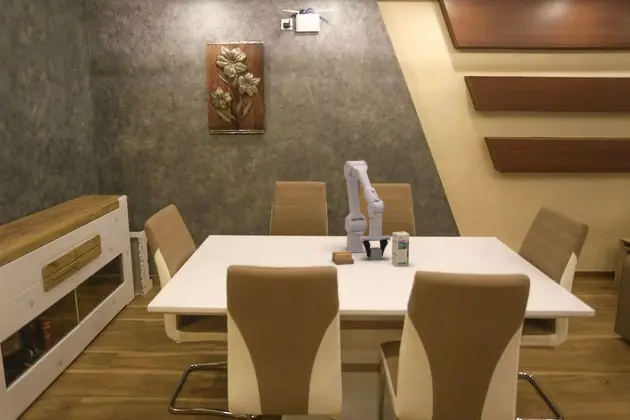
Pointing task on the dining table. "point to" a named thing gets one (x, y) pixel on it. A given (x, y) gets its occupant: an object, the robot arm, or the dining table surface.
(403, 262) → the syrup box
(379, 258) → the slate cube
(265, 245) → the dining table surface
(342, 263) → the walnut base block
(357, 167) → the robot arm
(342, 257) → the oak top block
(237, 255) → the dining table surface
